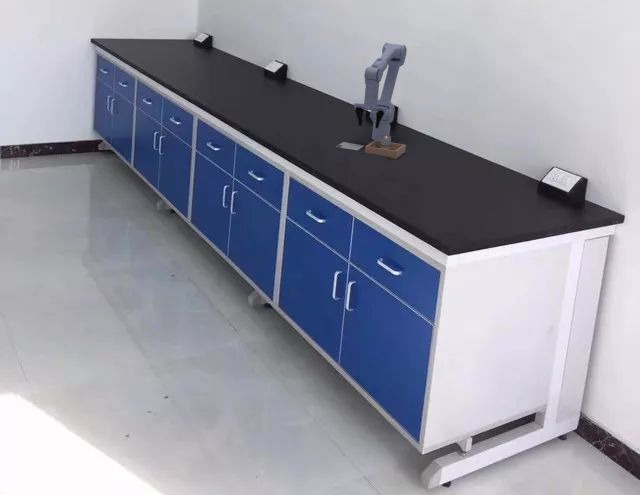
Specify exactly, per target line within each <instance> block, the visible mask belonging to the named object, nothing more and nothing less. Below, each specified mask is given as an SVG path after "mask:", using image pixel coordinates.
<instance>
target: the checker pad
mask: <svg viewBox="0 0 640 495" xmlns="http://www.w3.org/2000/svg"><path fill="white" fill-rule="evenodd" d="M363 147H365V145H362V144H356V143H351V142H345V141H343V142H341V143H339V144H337V145H336V146H335V148H341V149H346V150H347V149H348V150H354V151H359V150H360V149H361V148H363Z"/></svg>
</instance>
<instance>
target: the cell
mask: <svg viewBox="0 0 640 495" xmlns="http://www.w3.org/2000/svg"><path fill="white" fill-rule="evenodd" d="M390 143H392V136H391V135H389V136H388V135H382V139H381V148H382V149H388V150H391V149H390Z"/></svg>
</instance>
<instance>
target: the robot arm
mask: <svg viewBox="0 0 640 495" xmlns="http://www.w3.org/2000/svg"><path fill="white" fill-rule="evenodd" d="M407 49H408V48H407V46H406V45H405V44H398V43H397V44H396V43H388V42H385V43H384V44H383V46H382V52H381V53H382V54H381V56H380V57H377V58H376V59H375V61H374V62H373V63H372V65H371V66H368V67H366V68H365V71H364V84H365V89H364V100H363V103H357V102H355V103H353V109H355V110H354V111H355V115H356V116H357V121H358V126H359V127H361V126H362V125H363V117H364V111H365V110H367V111H370V114H369V118H370V119H371V122H373V123H372V134H371V140H373V141H375V140H378V141H381V139H382V135H388V136H391V133H390V132H391V124H390V123H392V122H393V121H394V118H395V109H396V108H395V105H394V104H393V103H392V102H391V101H392V98H393V95H394V94H393V93H394V90H395V85H396V82H397V78H398V76H399V75H398V74H399V71H400V67H402V66H404V64H405V62H406V59H407V58H406V57H407V52H408V51H407ZM386 69H387V72H386V75H385V79H384V83H383V86H382V90H381V95H380V98H379V89H380V82H381V81H382V78H383V76H384V72H385V71H386Z"/></svg>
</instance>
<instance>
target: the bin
mask: <svg viewBox="0 0 640 495" xmlns="http://www.w3.org/2000/svg"><path fill="white" fill-rule="evenodd" d="M406 146H407V144H402V143H397V142H391V143H390V150H388V149H382V148H381V141H378V140H373V141H371V142H370V143H368V144H367V145H364V147H365V148H364V154H371V155H377V156H383V157H387V159H388V160H389V159H390V160H391V159H392V160H398V159H399V158H400V157H401V156H403V155H405V153H406Z"/></svg>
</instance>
